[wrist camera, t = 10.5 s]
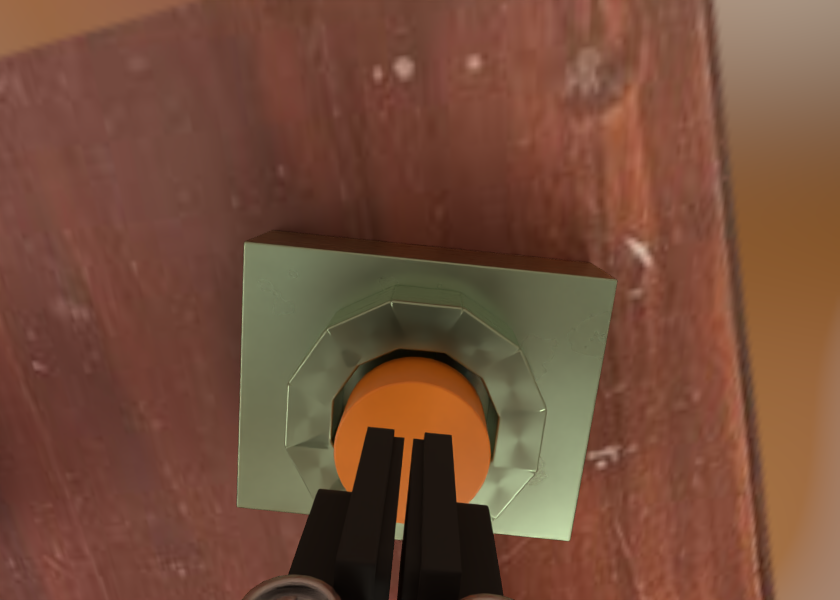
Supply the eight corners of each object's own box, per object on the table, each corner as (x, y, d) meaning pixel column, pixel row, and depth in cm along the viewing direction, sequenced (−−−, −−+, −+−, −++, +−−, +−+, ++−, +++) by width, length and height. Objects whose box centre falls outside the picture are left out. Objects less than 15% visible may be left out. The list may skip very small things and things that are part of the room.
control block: (591, 262, 18) (642, 294, 14) (552, 492, 20) (586, 585, 15) (271, 229, 18) (218, 251, 14) (262, 461, 20) (213, 547, 15)
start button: (492, 363, 14) (501, 390, 13) (475, 491, 15) (480, 532, 14) (349, 348, 14) (338, 373, 13) (340, 477, 15) (328, 517, 14)
